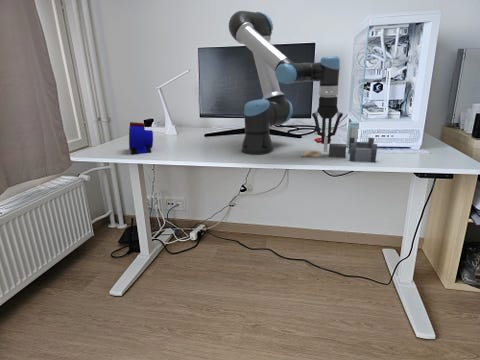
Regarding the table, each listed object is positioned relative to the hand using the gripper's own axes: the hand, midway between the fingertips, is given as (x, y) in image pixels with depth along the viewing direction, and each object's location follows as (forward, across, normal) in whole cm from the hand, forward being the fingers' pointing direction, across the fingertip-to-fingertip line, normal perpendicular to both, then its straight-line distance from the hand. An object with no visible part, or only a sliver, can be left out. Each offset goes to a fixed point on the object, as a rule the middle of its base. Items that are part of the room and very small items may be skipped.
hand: (325, 150), depth 139 cm
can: (+2, +13, +17) cm, 22 cm away
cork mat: (+2, -6, 0) cm, 6 cm away
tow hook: (+2, -2, +28) cm, 28 cm away
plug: (+2, +5, 0) cm, 6 cm away
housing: (+2, +15, 0) cm, 15 cm away
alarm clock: (+2, -90, -5) cm, 90 cm away
